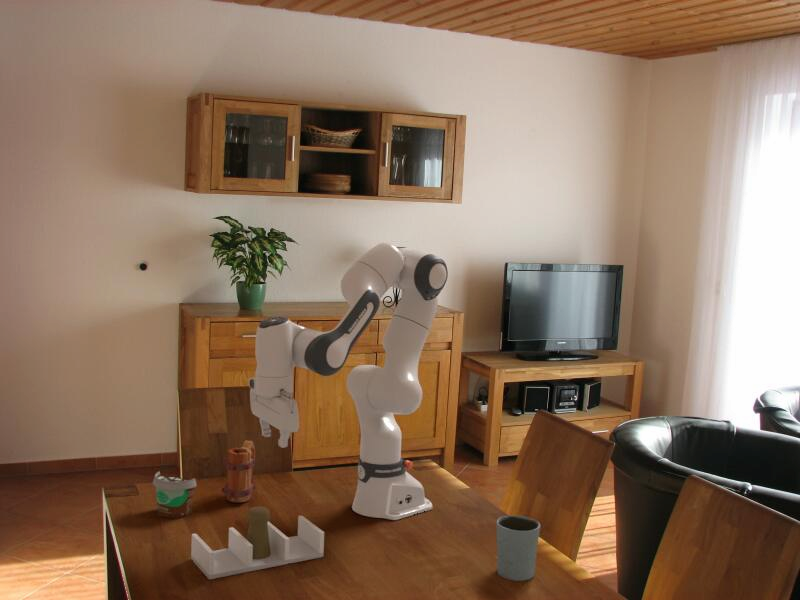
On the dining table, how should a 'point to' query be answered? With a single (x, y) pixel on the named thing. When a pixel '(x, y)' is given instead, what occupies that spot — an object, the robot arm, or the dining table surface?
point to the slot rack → (241, 551)
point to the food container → (174, 495)
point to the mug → (239, 473)
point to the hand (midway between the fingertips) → (274, 441)
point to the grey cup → (517, 547)
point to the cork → (259, 532)
